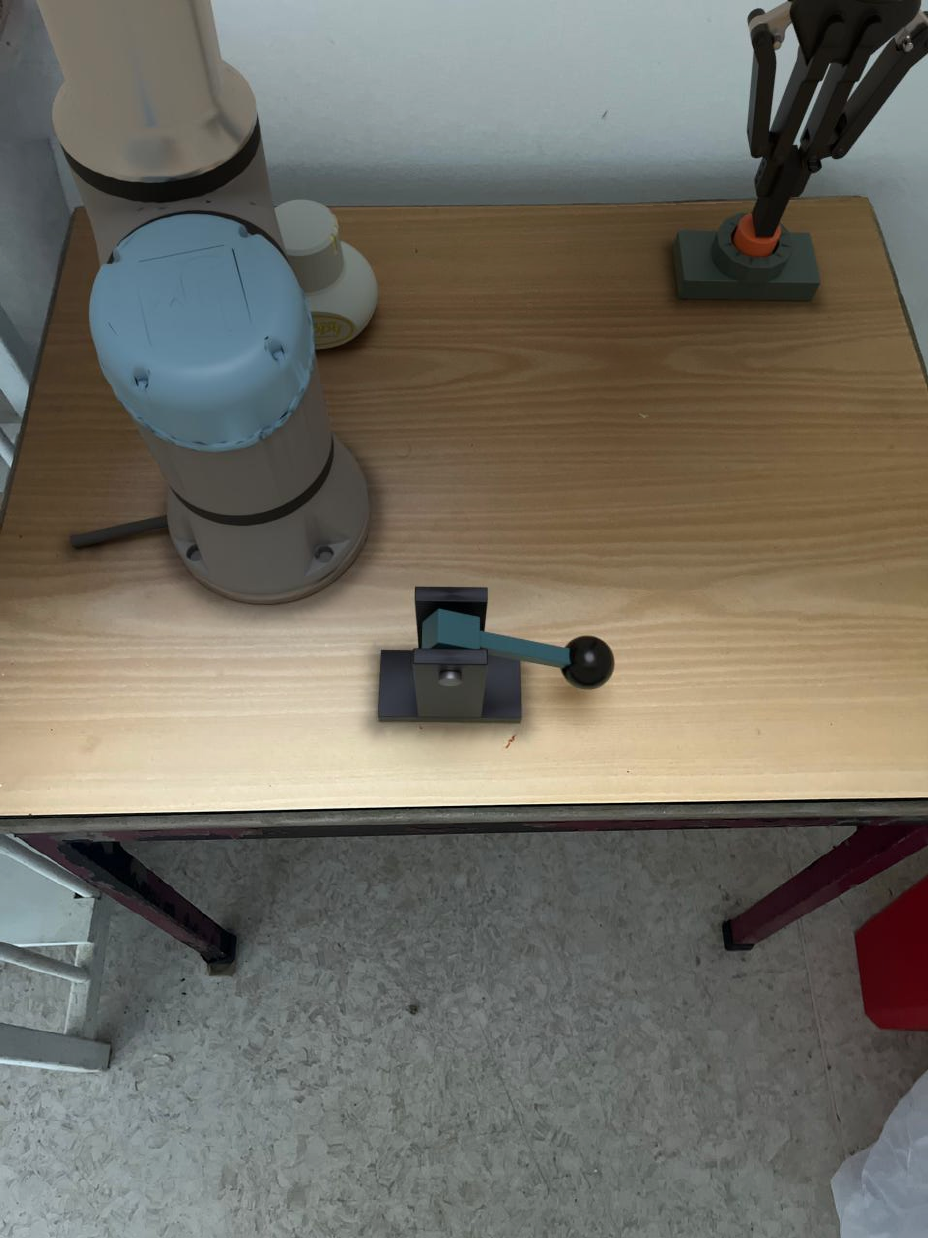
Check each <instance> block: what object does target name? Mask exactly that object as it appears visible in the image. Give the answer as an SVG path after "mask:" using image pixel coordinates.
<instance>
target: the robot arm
mask: <svg viewBox="0 0 928 1238" xmlns="http://www.w3.org/2000/svg"><path fill="white" fill-rule="evenodd" d="M35 2H36V4H37V6H38V8H39V11H40V15H41V16H42V17H41V18H42V21H43V23H44V25H45V28H46V31H47V34H48V36H49V39H50V42H51V44H52V47H53V50H54V53H55V56H56V58H57V61H58V64H59V66H60V67H59V68H60V69H61V72H62V74H63V75H62V76H63V77H64V82H63V83H62V84H61V86H60V88H59V89H58V91H57V93H56V95H55V98H54V100H53V103H52V109H51V120H52V121H51V122H52V124H53V129H54V132H55V135H56V137H57V140H58V142H59V145H60V148H61V150H62V152H63V155H64V158H65V160H66V163H67V166H68V168H69V170H70V173H71V175H72V178H73V180H74V183H75V185H76V188H77V190H78V193H79V195H80V198H81V201H82V203H83V206H84V209H85V211H86V215H87V217H88V219H89V222H90V226H91V229H92V233H93V236H94V240H95V244H96V250H97V256H98V262H99V270H98V271H97V273H96V275H95V278H94V281H93V284H92V288H91V293H90V298H89V303H88V319H89V320H88V321H89V328H90V335H91V337H92V341H93V344H94V347H95V350H96V355H97V360H98V362H99V366H100V368H101V371H102V374H103V376H104V378H105V379H106V381H107V383H108V384H109V385H110V387H111V388H112V391H113V393H114V395H115V397H116V399H117V401H118V402H120V403H121V405H122V406H123V408H124V409H125V411H127V413H128V415H129V417H130V419H131V420H132V423H133V424H134V425H135V427H136V429H137V431H138V433H139V434H140V437H141V438H142V440H143V442H144V444H145V445H146V448H147V449H148V451H149V452H150V455H151V456H152V458H153V459H154V462H155V463H156V465H157V467H158V468H159V471H160V473H161V474H162V475H163V478H164V480H165V481H166V483H167V492H166V496H167V497H166V501H167V502H166V514H164V515H160V516H155V517H150V518H145V519H141V520H136V521H132V522H127V523H126V522H125V523H121V524H118V525H114V526H109V527H105V528H102V529H96V530H92V531H88V532H84V533H78V534H72V535H70V536H69V542H70V545H71V547H72V548H78V547H86V546H89V545H93V544H94V545H95V544H98V543H103V542H107V541H111V540H115V539H120V538H124V537H129V536H133V535H138V534H142V533H146V532H147V533H148V532H151V531H156V530H162V529H166V528H168V531H169V535H170V536H169V537H170V539H171V542H172V545H173V547H174V549H175V551H176V553H177V555H178V556H179V558H180V559H181V561H182V562H183V563H184V565H185V567H186V568H187V570H188V571H189V572H190V573H191V575H192V576H193V577H194V578H195V579H196V580H197V581H199V582H200V583H201V584H202V585H204V586H205V587H206V588H207V589H209V590H211V591H213V592H214V593H216V594H218V595H220V596H222V597H224V598H227V599H230V600H233V601H236V602H237V601H238V602H240V603H247V604H253V605H254V604H255V605H275V604H282V603H288V602H292V601H296V600H299V599H302V598H306V597H308V596H311V595H313V594H315V593H317V592H319V591H321V590H322V589H324V588H325V587H328V586H329V585H330V584H331V583H333V582H334V581H336V580H337V579H338V578H339V577H341V575H343V574H344V573H345V572H346V571H347V570H348V569H349V567H351V565H352V564H353V562H355V560H356V559H357V557H358V556H359V554H360V552H361V551H362V548H363V546H364V544H365V542H366V540H367V536H368V534H369V529H370V524H371V518H372V517H371V512H372V511H371V501H370V494H369V489H368V484H367V481H366V480H367V479H366V477H365V475H364V472H363V470H362V469H361V467H360V465H359V463H358V461H357V459H356V458H355V456H354V455H353V453H352V452H351V451H350V450H349V448H347V447H346V446H345V445H344V444H343V443H342V441H341V440H340V439H339V438H338V436H337V435H336V434H335V433H334V431H332V426H331V421H330V417H329V412H328V408H327V402H326V397H325V392H324V388H323V384H322V383H323V382H322V378H321V373H320V369H319V364H318V359H317V354H316V349H315V344H314V340H315V336H314V327H313V321H312V316H311V312H310V309H309V306H308V303H307V300H306V297H305V295H304V292H303V290H302V289H301V288H300V286H299V283H298V281H297V279H296V276H295V274H294V273H293V271H292V269H291V267H290V264H289V261H288V257H287V254H286V250H285V246H284V243H283V239H282V236H281V232H280V228H279V225H278V221H277V218H276V214H275V209H274V208H275V206H274V201H273V195H272V191H271V186H270V180H269V173H268V167H267V162H266V155H265V148H264V142H263V137H262V131H261V124H260V119H259V111H258V107H257V101H256V97H255V94H254V92H253V89H252V87H251V86H250V84H249V82H248V81H247V79H246V78H245V77H244V76H243V74H241V72H240V71H239V70H238V69H237V68H236V67H234V66H233V65H232V64H230V63H229V62H227V61H225V59H223V58H222V53H221V49H220V43H219V38H218V37H219V36H218V33H217V27H216V21H215V18H214V11H213V6H212V1H211V0H35ZM921 6H922V0H786V1H784V2H783V3H780V4H779V5H778V6H776V7H774V8H772V9H770V10H768V11H765V10H764V9H763V8H761V7H756V8H754V9H752V10H751V11H750V12H749V14H748V15H747V18H746V22H747V27H748V31H749V37H750V42H751V46H752V49H753V51H752V53H753V54H752V63H751V74H750V76H751V77H750V78H751V79H750V86H749V87H750V88H749V99H748V111H747V122H746V123H747V124H746V135H747V142H748V147H749V152H750V153H749V154H750V156H751V158H752V159H760V158H761V160H760V162H759V165H758V168H757V171H756V173H755V175H754V179H753V183H754V189H755V196H756V201H755V204H754V206H753V208H752V212H751V213H752V218H753V223H754V229H755V235H756V237H773V236H774V234H775V232H776V229H777V227H778V225H779V222H781V221H782V218H783V216H784V213H785V211H786V208H787V206H788V204H789V202H790V199H791V198H800V196H801V195H802V194H803V193H804V192H805V189H806V186H807V185H808V182H809V180H810V178H811V175H812V174H813V175H814V174H816V173H818V172H820V171H821V170H822V168H823V165H822V160H823V159H827V158H832V159H833V160H841V159H843V158H844V157H845V156H846V155H847V154H848V153H849V152H850V150H851V149H852V148H853V146H854V145H855V143H856V142H857V141H858V139H860V137H861V136H862V134H863V133H864V131H865V130H866V129H867V127H868V126H869V125H870V123H872V121H873V119H874V118H875V117H876V116H877V114H878V113H879V112H880V110H881V109H882V107H883V106H884V105H885V103H886V102H887V101H888V99H889V98H890V97H891V95H892V94H893V93H894V91H895V90H896V89H897V87H898V86H899V84H900V83H901V82H902V81H903V79H904V78H905V77H906V75H907V74H908V72H909V71H910V70H911V69H912V68H913V67H914V66H915V65H917V64H918V63H919V62H920V61H921V60H922V59H923V58H925V57H926V56H927V55H928V10H923V11H922V9H921ZM789 26H792V28H793V30H794V33H795V36H796V40H797V42H798V48H797V54H796V60H795V63H794V64H793V68H792V70H791V73H790V76H789V79H788V81H787V84H786V87H785V89H784V92H783V94H782V97H781V100H780V102H779V105H778V108H777V111H776V113H775V115H774V118H773V121H772V111H773V101H774V93H775V86H776V85H775V84H776V77H777V63H778V62H777V53H776V51H778V50H780V49H781V48H782V44H783V42H784V41H785V39H786V31H787V29H788V28H789ZM886 43H887V44H886ZM884 45H885V46H884ZM883 46H884V48H883V49H882V50H881V52H880V53H879V55H878V57H876V59H875V61H873V63H872V65H871V66H870V68H869V69H868V71H867V72H866V73H865V75H864V76H863V74H864V72H865V69H866V67H867V65H868V62H869V61H870V58H871V56H872V55H874V54H875V53H876V52H877V51H878V50H879V49H880V48H882V47H883ZM862 76H863V77H862ZM861 78H862V79H861ZM860 80H861V81H860ZM822 81H823V82H822ZM859 81H860V82H859ZM820 82H822V84H821V87H820V89H819V92H818V94H817V96H816V99H815V102H814V103H813V106H812V109H811V111H810V113H809V116H808V117H807V118H808V119H807V121H806V123H805V125H804V128H803V131H802V132H801V135H800V137H799V143H800V144H799V146H798V144H795V142H796V139H797V136H798V134H799V132H800V129H801V127H802V124H803V122H804V119H805V117H806V114H807V112H808V110H809V107H810V104H811V102H812V100H813V97H814V94H815V93H816V90H817V87H818V85H819V83H820ZM856 83H858V85H857V86H856V88H855V89H854V91H853V88H854V86H855V84H856ZM771 121H772V124H771Z"/></svg>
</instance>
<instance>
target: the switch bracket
mask: <svg viewBox="0 0 928 1238" xmlns="http://www.w3.org/2000/svg"><path fill="white" fill-rule="evenodd" d="M488 588H489V587H487V586H424V585H423V586H421V585H419V586H414V610H415V625H416V636H417V647H415V648H413V649H380V660H379V661H380V662H379V679H378V702H377V719H378V721H379V722H389V723H390V722H391V723H392V722H393V723H394V722H397V723H399V722H401V723H480V724H481V723H482V724H483V723H484V724H485V723H490V724H491V723H492V724H493V723H494V724H497V723H498V724H501V723H502V724H520V723H521V722H522V678H521V675H522V674H521V672H522V671H521V661H520V660H515V659H509V658H504V657H499V656H493V655H488V650H487V649H428V648H422V625H423V622H424V621H425V620H426V619H427V618H428V617H430V616H431V615H432V614H433V613H434V612H435V611H437V610H438V609H443V610H448V611H453V612H457V613H462V614H467V615H472V616H477V617H480V631H485V632H486V624H487V623H486V622H487V613H488V605H489V589H488Z"/></svg>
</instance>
